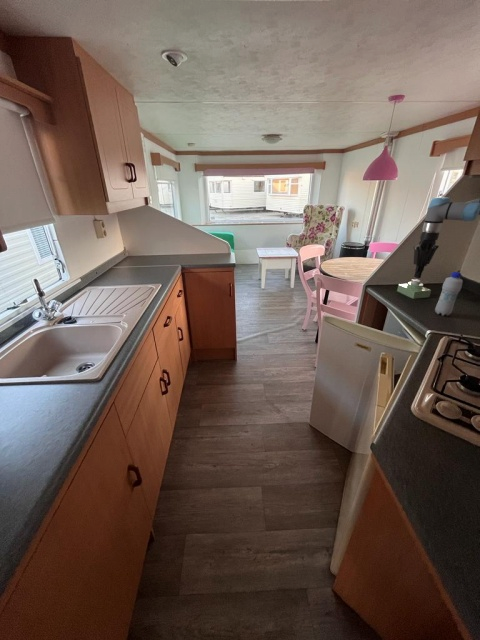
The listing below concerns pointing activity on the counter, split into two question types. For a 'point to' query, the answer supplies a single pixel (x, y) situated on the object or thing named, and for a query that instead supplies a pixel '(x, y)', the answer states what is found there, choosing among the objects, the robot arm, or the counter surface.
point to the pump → (416, 282)
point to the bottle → (449, 294)
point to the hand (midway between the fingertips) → (417, 277)
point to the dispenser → (414, 290)
